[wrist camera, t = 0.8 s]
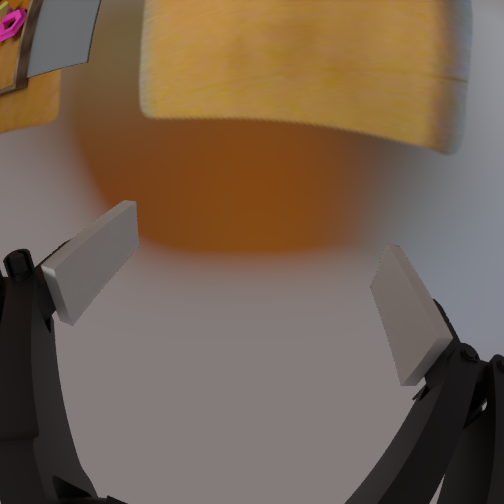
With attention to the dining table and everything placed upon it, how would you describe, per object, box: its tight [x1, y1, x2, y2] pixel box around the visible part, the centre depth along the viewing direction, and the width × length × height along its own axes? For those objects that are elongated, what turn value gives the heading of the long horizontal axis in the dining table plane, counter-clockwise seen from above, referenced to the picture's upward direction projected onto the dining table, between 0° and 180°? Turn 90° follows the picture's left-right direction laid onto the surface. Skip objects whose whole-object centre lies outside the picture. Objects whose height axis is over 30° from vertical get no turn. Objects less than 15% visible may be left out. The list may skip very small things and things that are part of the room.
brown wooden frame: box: [0, 0, 43, 96], centre depth 24 cm, size 32×26×4 cm
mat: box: [27, 0, 101, 78], centre depth 25 cm, size 24×18×1 cm
